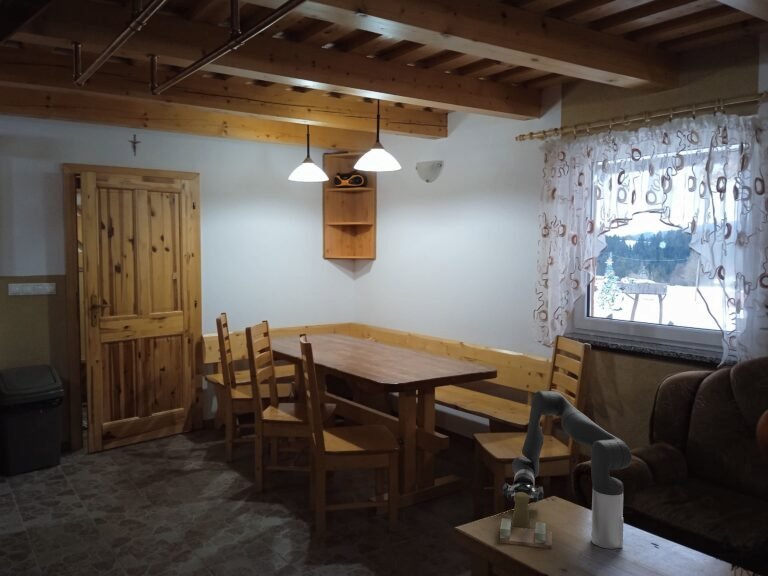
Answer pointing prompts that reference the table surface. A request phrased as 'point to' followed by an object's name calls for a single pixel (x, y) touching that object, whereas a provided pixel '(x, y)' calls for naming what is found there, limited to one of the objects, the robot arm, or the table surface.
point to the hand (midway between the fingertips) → (522, 498)
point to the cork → (521, 510)
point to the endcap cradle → (525, 535)
